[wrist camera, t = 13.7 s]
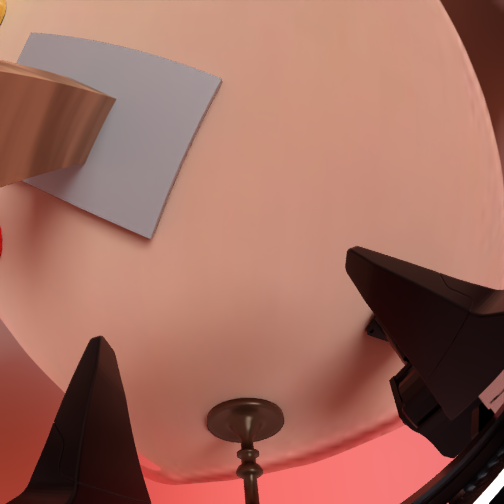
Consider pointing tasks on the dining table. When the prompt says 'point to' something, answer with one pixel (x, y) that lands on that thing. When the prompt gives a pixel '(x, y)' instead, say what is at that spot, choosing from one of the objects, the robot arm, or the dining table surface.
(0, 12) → the plant pot
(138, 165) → the board
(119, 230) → the dining table surface
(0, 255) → the tow hook
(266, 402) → the candlestick
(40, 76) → the walnut block
